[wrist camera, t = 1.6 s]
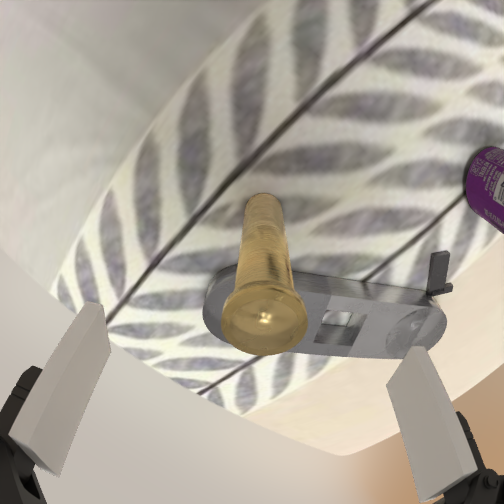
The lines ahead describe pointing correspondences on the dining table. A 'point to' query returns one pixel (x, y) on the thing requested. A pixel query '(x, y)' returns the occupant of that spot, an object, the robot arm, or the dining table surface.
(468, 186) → the beverage can
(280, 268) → the pin
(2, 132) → the dining table surface
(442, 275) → the dark grey l-shaped bracket
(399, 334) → the slotted metal plate
